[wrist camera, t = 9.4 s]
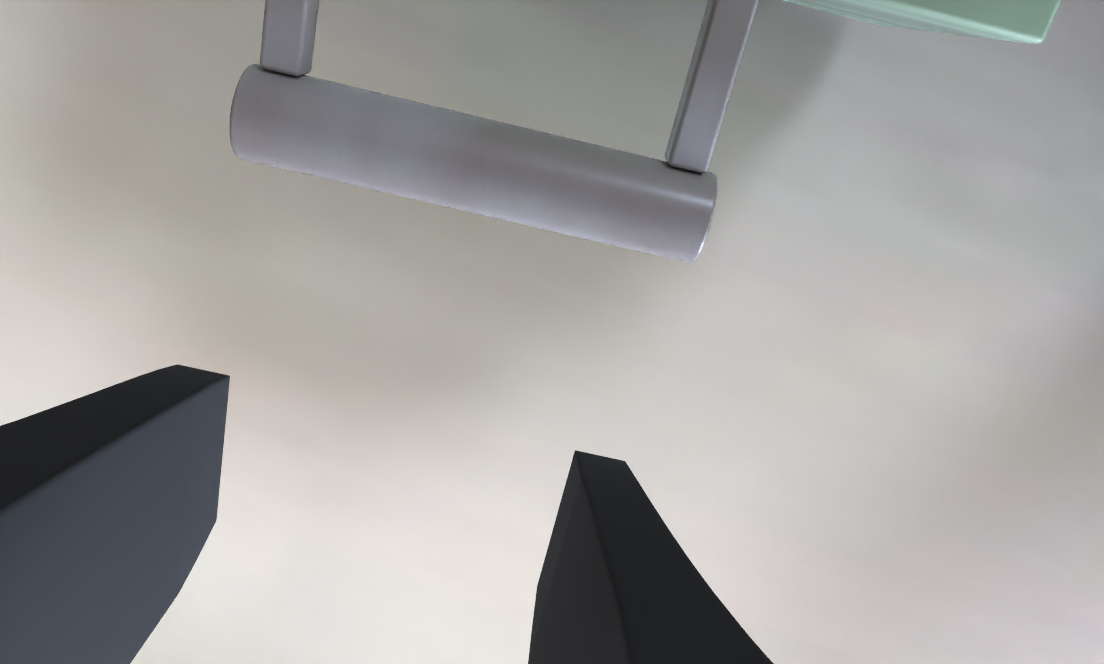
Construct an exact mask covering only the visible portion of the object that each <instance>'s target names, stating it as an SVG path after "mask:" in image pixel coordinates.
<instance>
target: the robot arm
mask: <svg viewBox="0 0 1104 664" xmlns="http://www.w3.org/2000/svg"><path fill="white" fill-rule="evenodd" d="M229 380H230V376H228V375H224V374H219V373H214V372H210V371H205V370H200V369H196V368H191V367H187V366H182V365H174V366H170V367H166V368H163V369H159V370H156V371H153V372H150V373H147V374H144V375H141V376H138V377H136V378H133V379H130V380H127V381H124V382H122V383H119V384H116V385H114V386H111V387H108V388H105V389H103V390H100V391H97V392H95V393H92V394H89V395H86V396H84V397H81V398H78V399H75V400H73V401H70V402H67V403H64V404H62V405H59V406H56V407H53V408H51V409H48V410H45V411H42V412H39V413H37V414H34V415H31V416H28V417H26V418H23V419H20V420H17V421H14V422H11V423H8V424H5V425H2V426H0V664H130V663H131V661H132V660H133V659H134V657H135V656H136V654H137V653H138V651H139V650H140V649H141V647H142V646H143V644H144V643H145V641H146V640H147V638H148V637H149V636H150V634H151V633H152V631H153V630H154V628H155V627H156V625H157V624H158V623H159V621H160V620H161V618H162V617H163V615H164V614H165V613H166V611H167V610H168V608H169V607H170V605H171V604H172V602H173V601H174V599H175V598H176V596H177V595H178V593H179V592H180V590H181V588H182V586H183V584H184V582H185V580H186V579H187V577H188V575H189V573H190V571H191V569H192V567H193V565H194V564H195V562H196V560H197V558H198V556H199V554H200V552H201V550H202V548H203V546H204V544H205V542H206V540H207V538H208V536H209V534H210V532H211V530H212V528H213V526H214V524H215V522H216V518H217V507H218V497H219V486H220V475H221V465H222V454H223V443H224V433H225V422H226V412H227V401H228V390H229ZM528 664H773V663H772V662H771V660H770V659H769V658H768V657H767V656H766V655H765V654H764V653H763V652H762V650H761V649H760V648H759V647H758V646H757V645H756V644H755V643H754V641H753V640H752V639H751V638H750V637H749V636H748V634H747V633H746V632H745V631H744V630H743V628H742V627H741V626H740V625H739V623H738V622H737V621H736V620H735V618H734V617H733V616H732V615H731V613H730V612H729V611H728V610H727V608H726V607H725V606H724V605H723V603H722V602H721V601H720V600H719V599H718V597H717V596H716V595H715V594H714V592H713V591H712V590H711V588H710V587H709V586H708V584H707V583H706V582H705V580H704V579H703V578H702V576H701V575H700V574H699V572H698V571H697V569H696V568H695V567H694V565H693V564H692V562H691V561H690V560H689V558H688V557H687V555H686V554H685V553H684V551H683V550H682V548H681V547H680V545H679V544H678V542H677V541H676V540H675V538H674V537H673V535H672V534H671V532H670V531H669V529H668V528H667V526H666V525H665V523H664V522H663V520H662V519H661V517H660V515H659V514H658V512H657V511H656V509H655V508H654V506H653V505H652V503H651V501H650V500H649V498H648V497H647V495H646V494H645V492H644V490H643V489H642V487H641V486H640V484H639V482H638V481H637V479H636V478H635V476H634V474H633V473H632V471H631V470H630V468H629V467H628V465H627V464H626V462H625V461H622V460H617V459H612V458H608V457H603V456H598V455H594V454H589V453H585V452H580V451H575V453H574V456H573V460H572V463H571V467H570V471H569V474H568V478H567V481H566V485H565V489H564V492H563V496H562V499H561V503H560V507H559V510H558V514H557V517H556V521H555V525H554V528H553V532H552V535H551V539H550V543H549V546H548V550H547V553H546V557H545V561H544V564H543V568H542V571H541V575H540V579H539V582H538V586H537V593H536V601H535V609H534V617H533V626H532V634H531V643H530V652H529V661H528Z"/></svg>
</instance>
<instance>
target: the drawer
mask: <svg viewBox="0 0 1104 664" xmlns="http://www.w3.org/2000/svg"><path fill="white" fill-rule="evenodd" d="M758 1H759V0H708V4H707V7H706V11H705V15H704V18H703V22H702V25H701V29H700V32H699V36H698V39H697V43H696V46H695V50H694V54H693V57H692V61H691V64H690V68H689V71H688V75H687V78H686V82H685V86H684V89H683V93H682V96H681V100H680V103H679V107H678V110H677V114H676V118H675V121H674V125H673V128H672V132H671V135H670V139H669V142H668V146H667V150H666V153H665V158H666V160H667V162H665V161H661V160H657V159H653V158H648V157H644V156H640V155H636V154H632V153H627V152H623V151H619V150H615V149H611V148H607V147H602V146H598V145H594V144H590V143H586V142H581V141H577V140H573V139H569V138H565V137H561V136H556V135H552V134H548V133H544V132H540V131H535V130H531V129H527V128H523V127H519V126H515V125H510V124H506V123H502V122H498V121H494V120H490V119H485V118H481V117H477V116H473V115H469V114H464V113H460V112H456V111H452V110H448V109H444V108H439V107H435V106H431V105H427V104H423V103H418V102H414V101H410V100H406V99H402V98H398V97H393V96H389V95H385V94H381V93H377V92H372V91H368V90H364V89H360V88H356V87H352V86H347V85H343V84H339V83H335V82H331V81H326V80H322V79H318V78H314V77H310V76H306V75H304V74H307V73H309V72H310V70H311V65H312V56H313V48H314V39H315V31H316V22H317V14H318V5H319V0H266V2H265V12H264V23H263V33H262V44H261V55H260V64H253V65H250V66H249V67H247V68H246V69H245V71H244V72H243V74H242V76H241V77H240V80H239V82H238V84H237V87H236V90H235V93H234V97H233V101H232V107H231V114H230V140H231V145H232V149H233V151H234V153H235V155H236V156H237V157H239V158H240V159H243V160H247V161H251V162H256V163H260V164H264V165H269V166H273V167H277V168H282V169H286V170H290V171H294V172H299V173H303V174H307V175H312V176H316V177H320V178H325V179H329V180H333V181H338V182H342V183H346V184H351V185H355V186H359V187H363V188H368V189H372V190H376V191H381V192H385V193H389V194H394V195H398V196H402V197H407V198H411V199H415V200H419V201H424V202H428V203H432V204H437V205H441V206H445V207H450V208H454V209H458V210H463V211H467V212H471V213H476V214H480V215H484V216H488V217H493V218H497V219H501V220H506V221H510V222H514V223H519V224H523V225H527V226H532V227H536V228H540V229H544V230H549V231H553V232H557V233H562V234H566V235H570V236H575V237H579V238H583V239H588V240H592V241H596V242H601V243H605V244H609V245H613V246H618V247H622V248H626V249H631V250H635V251H639V252H644V253H648V254H652V255H657V256H661V257H665V258H669V259H674V260H678V261H682V262H687V263H691V262H694V261H695V260H696V258H697V257H698V255H699V254H700V252H701V250H702V248H703V246H704V243H705V241H706V238H707V235H708V232H709V229H710V226H711V222H712V219H713V214H714V210H715V204H716V198H717V179H716V176H715V175H714V174H713V173H711V172H707V170H708V167H709V163H710V160H711V157H712V153H713V150H714V147H715V143H716V140H717V137H718V134H719V130H720V127H721V124H722V120H723V117H724V114H725V110H726V107H727V104H728V101H729V97H730V94H731V91H732V87H733V84H734V81H735V77H736V74H737V71H738V68H739V64H740V61H741V58H742V54H743V51H744V48H745V44H746V41H747V38H748V34H749V31H750V28H751V25H752V21H753V18H754V15H755V11H756V8H757V5H758ZM783 1H787V2H791V3H795V4H799V5H803V6H807V7H811V8H815V9H819V10H823V11H827V12H831V13H835V14H839V15H843V16H846V17H850V18H854V19H858V20H862V21H866V22H870V23H874V24H878V25H882V26H889V27H897V28H906V29H914V30H922V31H931V32H939V33H948V34H956V35H964V36H973V37H981V38H989V39H998V40H1006V41H1015V42H1023V43H1031V44H1035V43H1040V42H1042V41H1043V40H1044V38H1045V37H1046V35H1047V32H1048V30H1049V28H1050V25H1051V23H1052V21H1053V18H1054V16H1055V14H1056V11H1057V9H1058V7H1059V4H1060V2H1061V0H783Z"/></svg>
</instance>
